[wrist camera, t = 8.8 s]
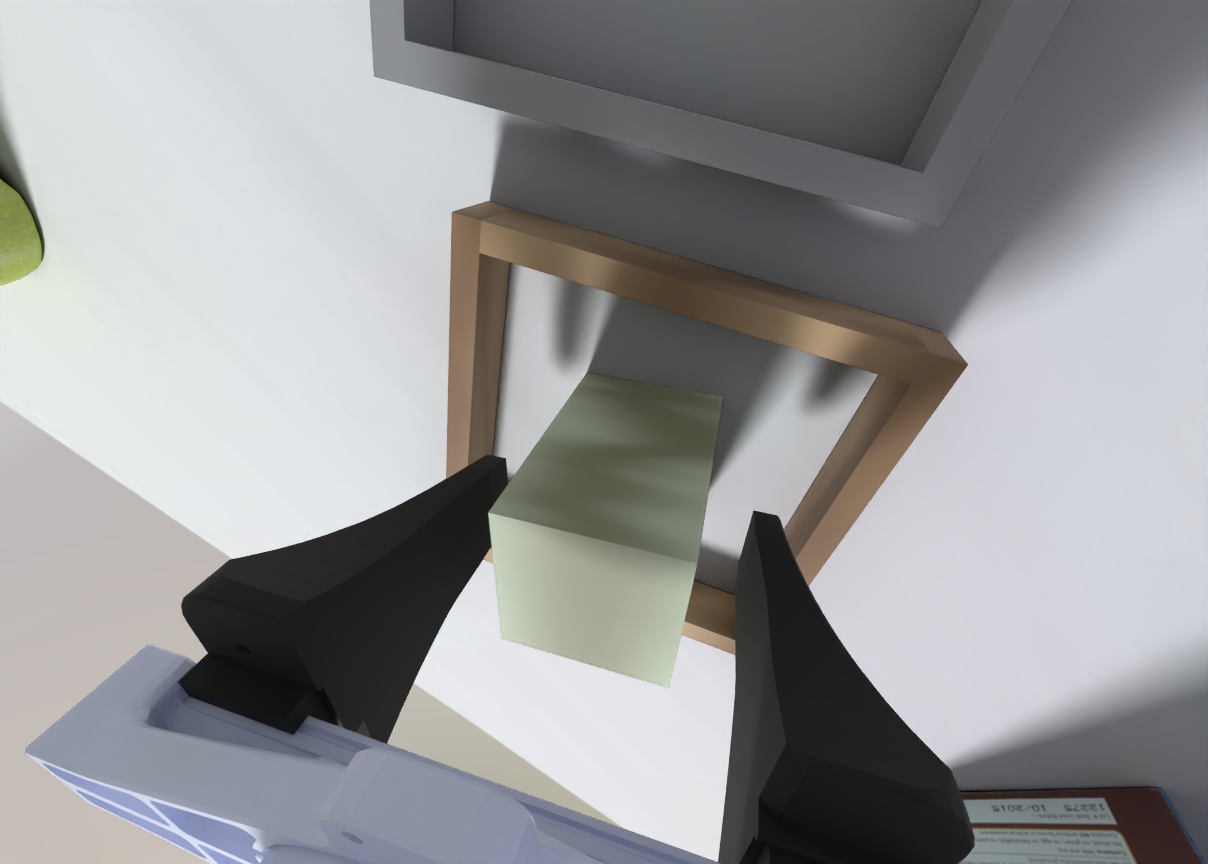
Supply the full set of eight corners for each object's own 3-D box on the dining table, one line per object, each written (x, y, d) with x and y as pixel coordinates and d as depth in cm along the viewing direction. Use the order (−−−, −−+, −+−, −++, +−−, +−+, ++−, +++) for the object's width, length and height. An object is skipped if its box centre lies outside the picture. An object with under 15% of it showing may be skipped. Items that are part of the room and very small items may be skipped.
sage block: (723, 396, 15) (697, 563, 9) (700, 503, 17) (669, 688, 12) (587, 372, 16) (488, 512, 10) (583, 477, 18) (501, 638, 13)
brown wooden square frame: (942, 332, 12) (967, 364, 11) (754, 617, 20) (753, 662, 18) (488, 201, 14) (452, 212, 12) (469, 512, 21) (444, 545, 19)
